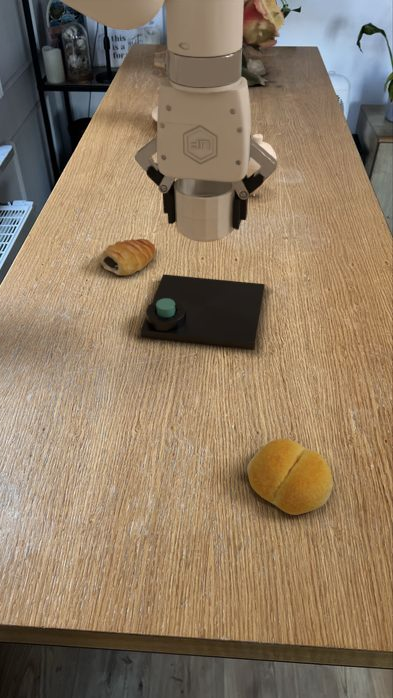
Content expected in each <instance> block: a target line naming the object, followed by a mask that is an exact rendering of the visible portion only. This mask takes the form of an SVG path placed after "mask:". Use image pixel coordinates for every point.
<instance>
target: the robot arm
mask: <svg viewBox="0 0 393 698" xmlns="http://www.w3.org/2000/svg"><path fill="white" fill-rule="evenodd" d="M59 2H61V3H63V4H64V5H66V6H67V7H70V8H72V9H73V10H74V11H76V12H78V13H80V14H82V15H83V16H84V17H85V16H86V17H87V18H88V19H90V20H93V21H94V22H96V23H97V24H100V25H102V26H105V27H107V28H110V29H115V30H117V31H118V30H119V31H130V30H136V29H139V28H142V27H144V26H145V25H147V24H148V23H150V22H151V21H153V19H154V18H155V17H156V16H157V15H158V14H159V12H160V11H161V9H162V7H163V6H164V8H165V21H166V23H165V24H166V25H165V27H166V46H167V48H166V49H165V50H162V51H161V52H157V51H156V52H154V54H153V64H154V65H153V66H154V67H155V68H156V67H159V68H161V69H164V71H165V72H166V77H165V78H164V79H163V80H161V82H160V86H159V92H158V93H159V94H158V103H157V106H158V118H157V121H156V123H157V125H156V136H155V137H154V138H152V139H151V140H150V141H149V142H147V143H146V144H145V145H143V146H142V147H141V148H140V149H138V150H137V151H136V153H135V155H134V160H135V162H136V163H137V164H138V165H139V166H140V168H142V170H143V171H145V173H146V176H147V177H148V178H149V179H150V180H151V181H152V182H153V183H154V184H155V185H156V186H157V187H158V191H159V192H160V193H161V194H162V204H163V205H162V208H163V210H162V211H163V214H165V215H166V214H167V224H168V225H173V224H175V202H174V184H175V181H176V179H178V178H179V179H191V180H204V181H218V182H231V183H232V185H233V187H234V189H235V191H236V194H235V197H234V203H233V228H234V230H236V231H239V230H240V226H241V223H242V221H247V217H248V207H249V206H248V205H249V197H250V195H252V194H253V191H255V190H256V189H257V188H258V187H260V186H261V185H262V184H263V182H264V181H265V180H266V179H267V178H268V177H269V176H270V175H271V174H272V175H273V173H274V172H275V171H276V170H277V166H278V159H277V160H276V159H275V158H274V157H272V156H271V155H270V154H269V153H268V152H267V151H266V150H264V149H263V148H262V147H261V146H260V145H259V144H258V143H257V142H255V141H254V140H253V139H252V114H251V113H252V112H251V100H250V92H249V86H248V85H247V80H246V79H245V78H244V77H241V67H242V51H243V48H242V36H243V7H244V0H59ZM155 154H156V161H157V162H155V160H154V159H153V156H154V155H155ZM250 157H251V158H252V159H254V160H255V161H256V162H257V163H258V164H259V165H260V166H261V167H260V168H259V170H257V171H256V172H255V173H253V174H252V175H251V176H250V177H248V175H247V170H248V164H249V161H250ZM272 175H271V176H272ZM271 176H270V177H271Z"/></svg>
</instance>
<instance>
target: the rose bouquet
mask: <svg viewBox="0 0 393 698" xmlns="http://www.w3.org/2000/svg"><path fill="white" fill-rule="evenodd" d="M284 23H285V16H284V13H283V12H282V9H281V7H279V5H278V4H277V0H244V7H243V36H242V67H241V77H244V78H245V79H246V80H247V85H248V87H253V86H255V85H261V86H266V83H265V82H268V79H266V78H265V77H262V76H263V75H265V74H267V70H266V68H265V66H264V64H263V61H262V60H261V59H251V58H249V59H248V60H247V58H246V55H245V53H246V52H247V47H251V48H252V49H253V51H255V52H256V53H257V54H259V53H260V54H262V55H264V57H267V55H266V54H265V53H264V52H263V51H262V50H260V47H262V48H263V49H269V48H270V47H274V46H276V45H277V44H278V39H277V38H279V37H280V36H281V34H280V33H279V30H281V29H282V27H283V26H284V25H285V24H284ZM270 82H272V80H269V83H270Z"/></svg>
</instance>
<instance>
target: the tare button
mask: <svg viewBox="0 0 393 698" xmlns="http://www.w3.org/2000/svg"><path fill="white" fill-rule="evenodd" d="M156 308H157V314H158V316H160V317H165V318H167V317H172V316H173V315H174V314H175V302H174V301H173V300H171V299H168V298H164V299H160V300H159V301H158V302H157V303H156Z"/></svg>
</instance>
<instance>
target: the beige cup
mask: <svg viewBox="0 0 393 698" xmlns="http://www.w3.org/2000/svg"><path fill="white" fill-rule="evenodd" d="M174 181H175V184H174V202H175V223H174V224H175V225H174V226H175V228H176V231H177V232H178V233H179V234H180V235H181V236H183V237H185V238H187V239H188V240H191V241H194V242H198V243H199V242H200V243H211V242H217V241H219V240H222V239H223V238H225V237H228V236H229V235H231V233H232V232H234V230H235V229H234V228H233V203H234V197H235V194H236V191H235V189H234V187H233V185H232V183H231V182H218V181H204V180H191V179H179V178H176V179H175V180H174Z"/></svg>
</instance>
